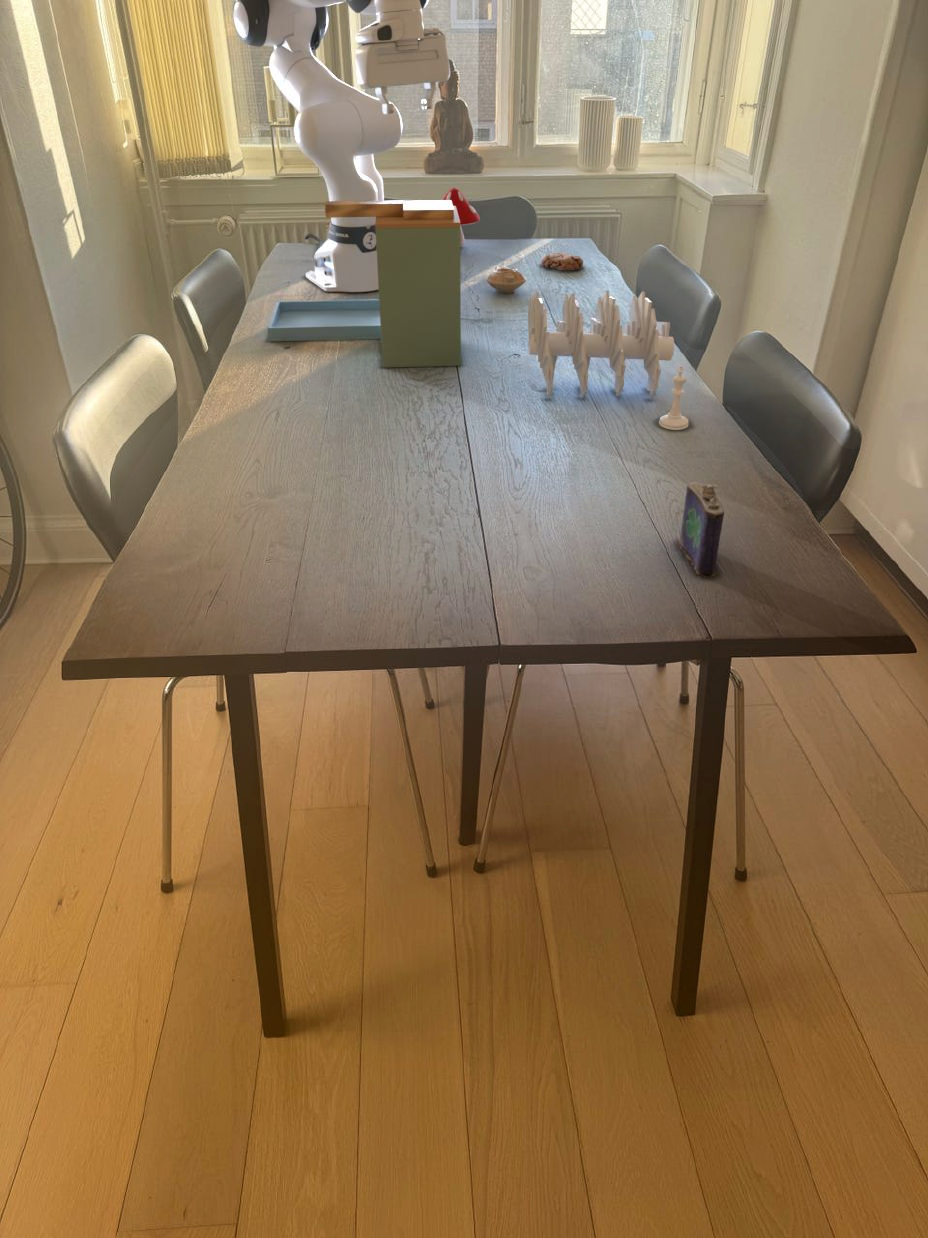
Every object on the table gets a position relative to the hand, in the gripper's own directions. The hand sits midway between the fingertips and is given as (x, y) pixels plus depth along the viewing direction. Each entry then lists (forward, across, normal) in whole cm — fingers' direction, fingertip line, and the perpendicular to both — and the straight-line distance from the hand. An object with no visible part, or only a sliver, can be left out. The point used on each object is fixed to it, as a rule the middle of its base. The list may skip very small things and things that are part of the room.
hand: (408, 111), depth 190 cm
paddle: (+15, +20, +21) cm, 33 cm away
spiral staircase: (+46, +3, +57) cm, 73 cm away
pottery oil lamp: (+40, -26, -4) cm, 47 cm away
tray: (+39, +18, -3) cm, 43 cm away
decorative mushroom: (+36, -40, -43) cm, 69 cm away
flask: (+50, +33, +106) cm, 122 cm away
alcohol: (+34, -18, -50) cm, 64 cm away
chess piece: (+48, +2, +74) cm, 88 cm away
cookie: (+39, -50, -10) cm, 64 cm away
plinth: (+42, +16, +21) cm, 49 cm away
